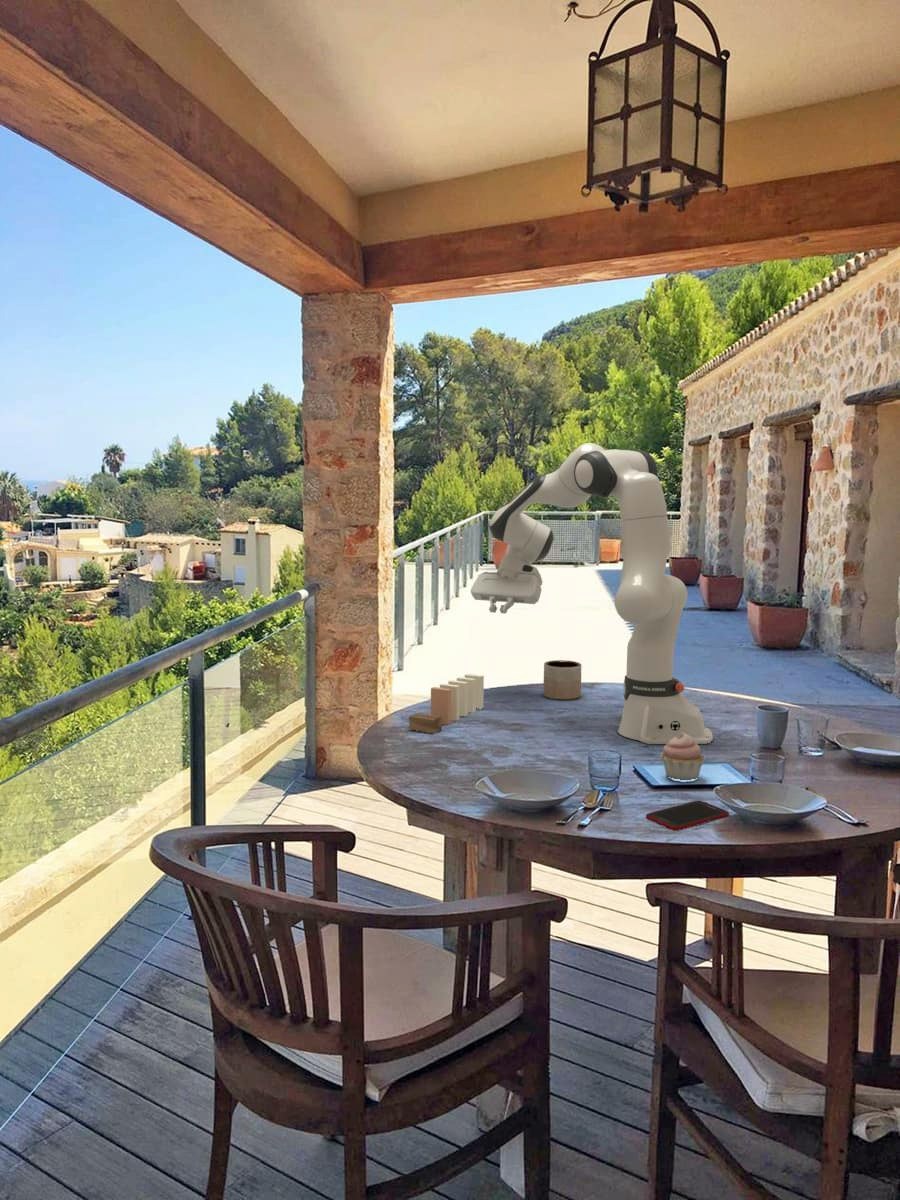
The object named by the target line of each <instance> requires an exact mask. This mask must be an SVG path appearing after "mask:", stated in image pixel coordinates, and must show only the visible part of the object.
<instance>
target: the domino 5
mask: <svg viewBox="0 0 900 1200" xmlns="http://www.w3.org/2000/svg"><path fill="white" fill-rule="evenodd" d="M484 677H485V675H482V674H480V675H479V674H473V673H472V674H471V673H466V674H464V678H472V679H476V708H477V709H476V710H483V709H484V691H485V689H484V685H485V684H484V682H485V679H484ZM482 708H483V709H482Z"/></svg>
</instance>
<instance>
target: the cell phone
mask: <svg viewBox="0 0 900 1200" xmlns="http://www.w3.org/2000/svg"><path fill="white" fill-rule="evenodd" d="M729 816H730V812H729V811H728V810H725V809H724V808H721V807H718V806H716V805H713V804H710V803H708V802H706V801H703V800H695V801H691V802H690V801H689V802H687V803H682V804H679V805H675V806H671V807H668V808H667V807H666V808H664V809H663V808H662V809H659V810H655V811H652V812H649V813H646V814H645V819H646V818H647V819H646V820H648V819H649V820H648V821H650V820H652V822H653V821H654V822H653V823H655V822H658V823H657V824H659V823H660V824H659V825H660V826H662V825H663V826H662V827H664V826H666V827H668V828H670V829H669V830H671V829H672V830H671V831H675V830H677V831H680V830H679V829H681V830H684V829H683V828H685V829H688V828H690V827H689V826H692V827H694V826H693V825H696V826H698V825H697V824H699V825H702V824H701V823H703V824H705V823H704V822H706V823H708V822H713V821H717V820H721V819H722V818H723V819H724V818H727V817H729ZM716 819H717V820H716ZM712 820H713V821H712ZM687 827H688V828H687Z"/></svg>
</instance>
